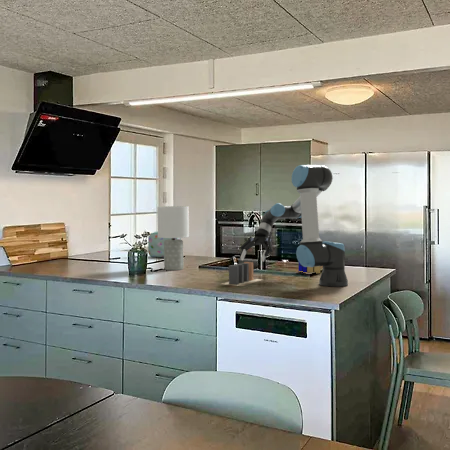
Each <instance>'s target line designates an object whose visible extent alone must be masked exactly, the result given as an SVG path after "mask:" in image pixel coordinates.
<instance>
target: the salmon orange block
mask: <svg viewBox="0 0 450 450" xmlns="http://www.w3.org/2000/svg"><path fill="white" fill-rule="evenodd" d="M243 263H249V280H253V279H254V261H252V262H251V261H244V262H243Z"/></svg>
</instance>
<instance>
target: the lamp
mask: <svg viewBox="0 0 450 450" xmlns="http://www.w3.org/2000/svg"><path fill="white" fill-rule="evenodd" d="M156 208H157V210H156V212H157V213H156V214H157V215H156V216H157V232H158V237H159V238H172V239H169V240H165V241H164V258H163V263H164V265H163V266H164V267H163V268H164V270H165V271H182V270H183V269H184V240H183V239H184V238H189V237H190V215H189V214H190V213H189V211H190V206H189V205H187V206H186V205H185V206H184V205H183V206H182V205H177V206H175V205H173V206H172V205H171V206H170V205H167V206H165V205H163V206H157V207H156ZM175 238H181V240H180V239H175Z"/></svg>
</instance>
